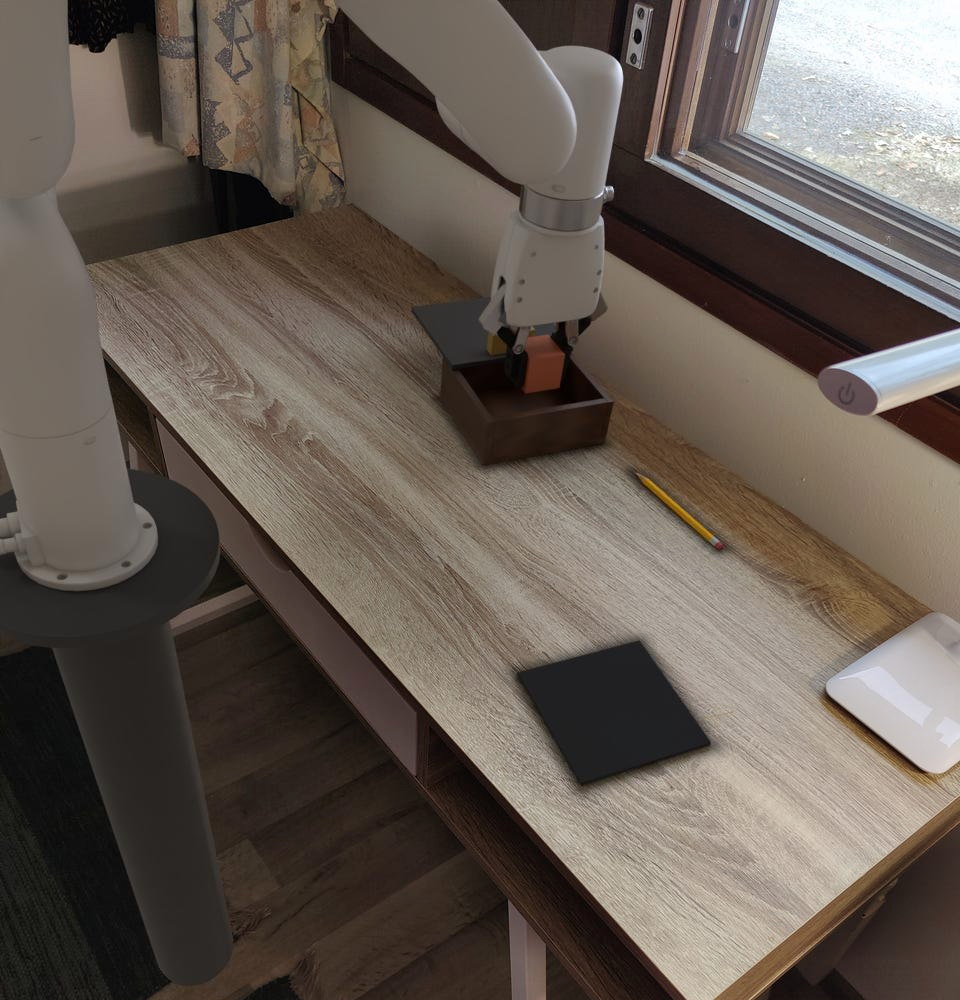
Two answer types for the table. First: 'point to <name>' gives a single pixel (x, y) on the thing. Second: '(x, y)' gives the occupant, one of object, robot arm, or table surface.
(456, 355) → the sliding lid
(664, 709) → the mat
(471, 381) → the box
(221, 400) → the table surface
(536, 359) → the block
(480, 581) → the table surface
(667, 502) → the pencil
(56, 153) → the robot arm
